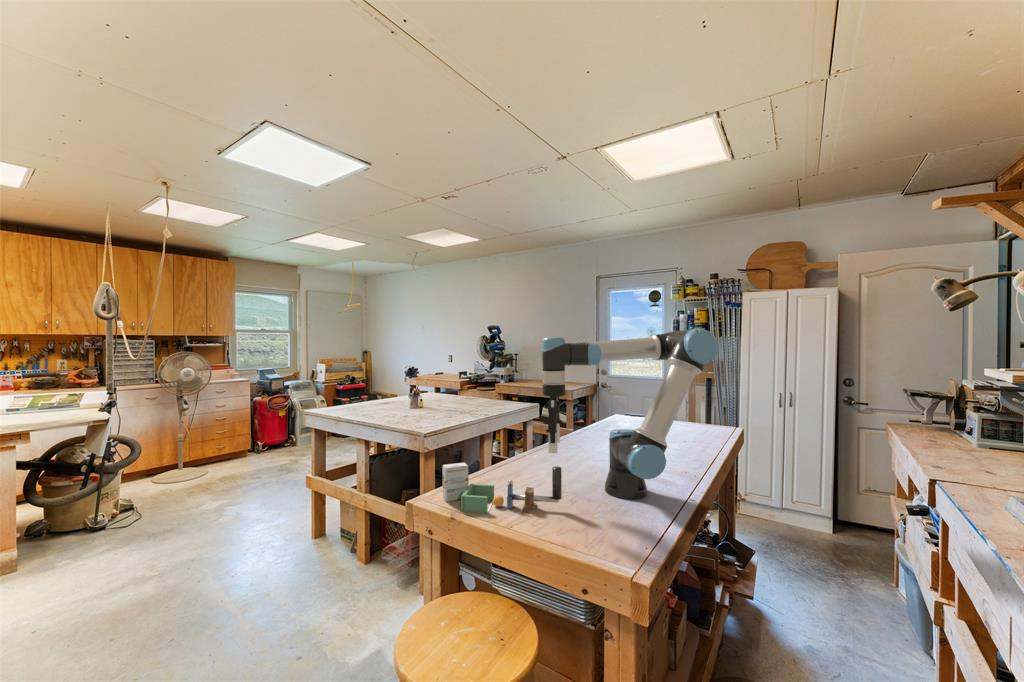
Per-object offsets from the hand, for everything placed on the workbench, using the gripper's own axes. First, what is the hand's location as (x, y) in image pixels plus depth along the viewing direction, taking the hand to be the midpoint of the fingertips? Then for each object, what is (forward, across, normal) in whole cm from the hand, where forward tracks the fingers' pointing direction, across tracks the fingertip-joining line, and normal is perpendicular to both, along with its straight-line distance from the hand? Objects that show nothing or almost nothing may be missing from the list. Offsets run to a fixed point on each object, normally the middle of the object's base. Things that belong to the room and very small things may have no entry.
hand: (554, 447), depth 130 cm
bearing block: (+20, +1, -9) cm, 22 cm away
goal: (+20, +1, -27) cm, 34 cm away
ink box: (+20, -4, -36) cm, 42 cm away
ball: (+19, +1, -19) cm, 27 cm away
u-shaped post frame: (+20, 0, -7) cm, 22 cm away
